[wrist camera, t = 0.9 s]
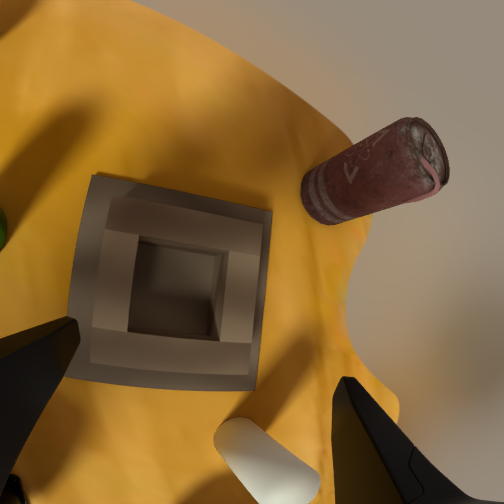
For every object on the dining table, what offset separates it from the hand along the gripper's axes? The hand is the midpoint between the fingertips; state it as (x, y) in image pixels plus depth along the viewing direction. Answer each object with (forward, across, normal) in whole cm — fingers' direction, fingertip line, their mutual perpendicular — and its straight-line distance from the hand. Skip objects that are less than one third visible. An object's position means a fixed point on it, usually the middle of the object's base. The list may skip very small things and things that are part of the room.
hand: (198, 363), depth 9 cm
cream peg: (+9, -2, +18) cm, 20 cm away
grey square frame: (+13, +5, +6) cm, 15 cm away
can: (+25, -6, -2) cm, 25 cm away
